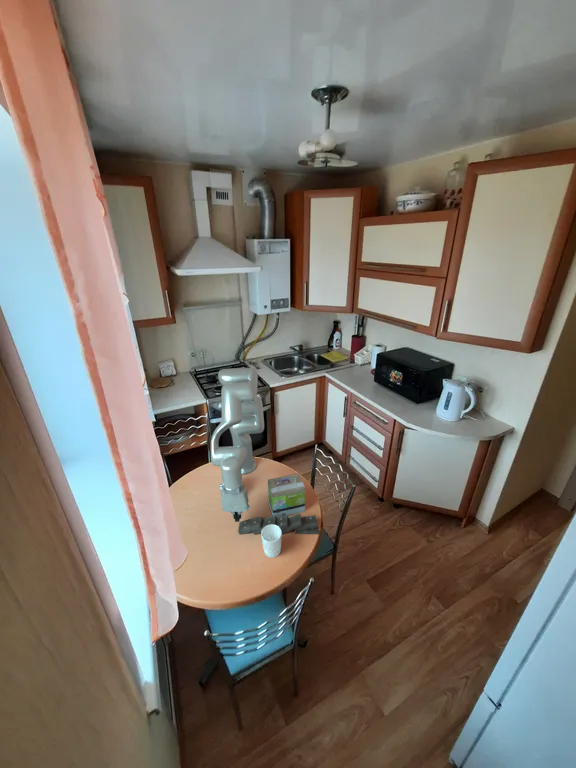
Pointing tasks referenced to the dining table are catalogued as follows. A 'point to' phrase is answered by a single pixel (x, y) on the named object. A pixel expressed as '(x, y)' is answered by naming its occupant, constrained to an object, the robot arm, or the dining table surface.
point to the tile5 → (308, 531)
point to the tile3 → (293, 523)
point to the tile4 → (308, 523)
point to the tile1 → (267, 523)
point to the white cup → (271, 540)
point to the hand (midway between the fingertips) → (237, 519)
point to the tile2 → (283, 522)
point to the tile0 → (250, 525)
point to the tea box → (286, 495)
